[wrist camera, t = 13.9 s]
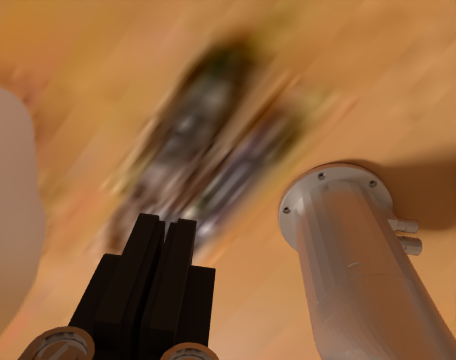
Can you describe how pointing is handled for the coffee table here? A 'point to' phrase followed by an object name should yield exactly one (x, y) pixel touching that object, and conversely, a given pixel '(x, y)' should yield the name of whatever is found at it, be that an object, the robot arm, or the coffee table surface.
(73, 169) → the coffee table surface
